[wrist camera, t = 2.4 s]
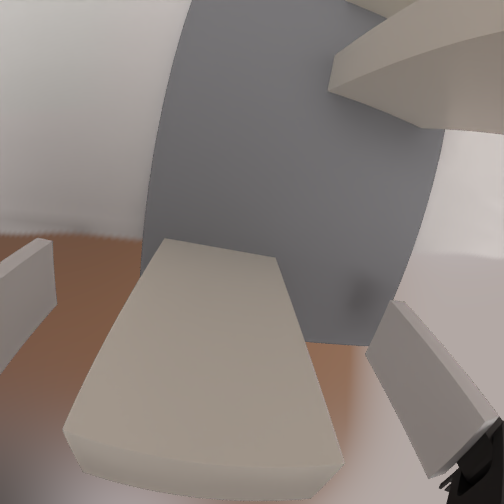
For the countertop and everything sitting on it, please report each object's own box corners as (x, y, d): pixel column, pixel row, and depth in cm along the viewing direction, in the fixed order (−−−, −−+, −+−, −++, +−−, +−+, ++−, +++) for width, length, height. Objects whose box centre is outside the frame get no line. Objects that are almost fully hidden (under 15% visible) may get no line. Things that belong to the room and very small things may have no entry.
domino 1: (160, 274, 14) (83, 472, 4) (164, 238, 13) (61, 429, 4) (266, 292, 14) (311, 498, 5) (275, 257, 14) (344, 463, 4)
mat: (140, 312, 15) (138, 316, 14) (271, -153, 3) (272, -156, 3) (368, 342, 16) (371, 346, 16) (439, -94, 5) (442, -96, 4)
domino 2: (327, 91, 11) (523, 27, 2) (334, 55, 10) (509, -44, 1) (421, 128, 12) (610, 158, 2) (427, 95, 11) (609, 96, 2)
